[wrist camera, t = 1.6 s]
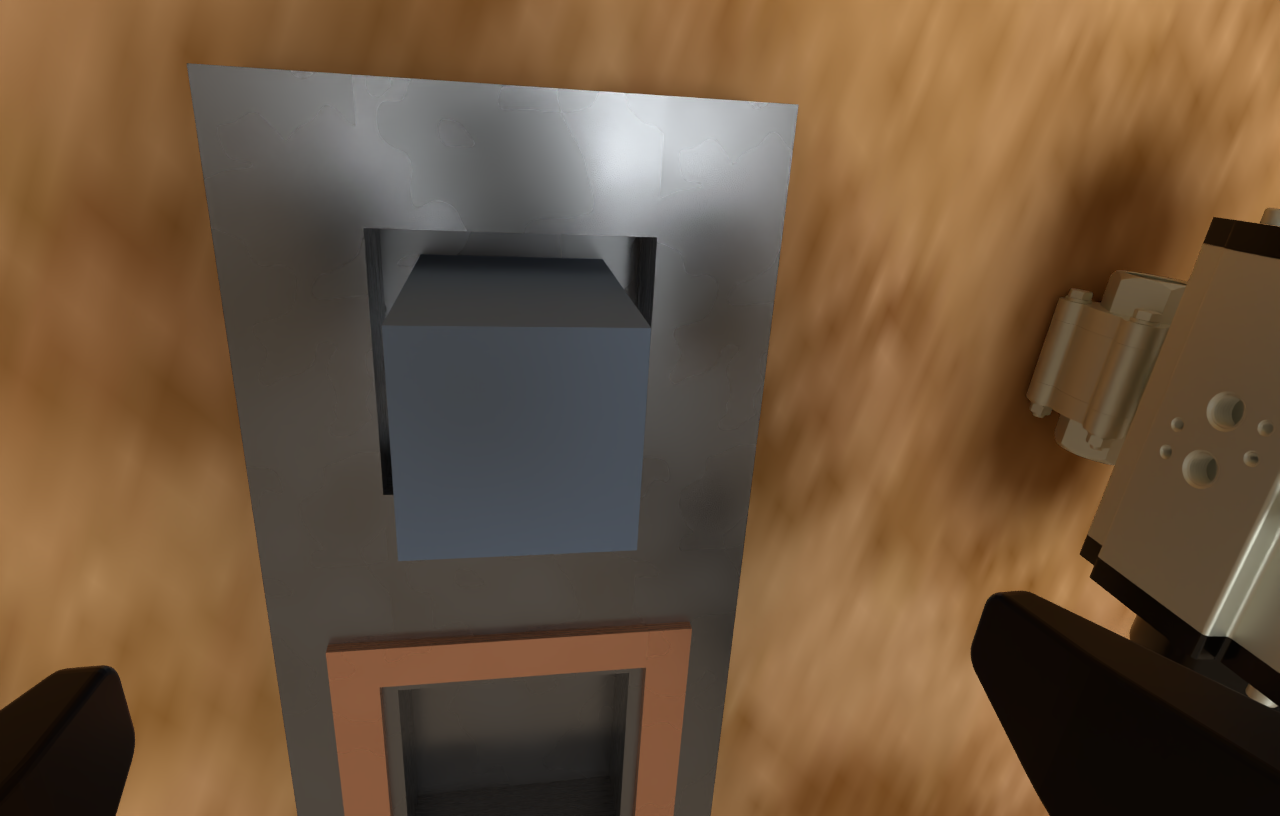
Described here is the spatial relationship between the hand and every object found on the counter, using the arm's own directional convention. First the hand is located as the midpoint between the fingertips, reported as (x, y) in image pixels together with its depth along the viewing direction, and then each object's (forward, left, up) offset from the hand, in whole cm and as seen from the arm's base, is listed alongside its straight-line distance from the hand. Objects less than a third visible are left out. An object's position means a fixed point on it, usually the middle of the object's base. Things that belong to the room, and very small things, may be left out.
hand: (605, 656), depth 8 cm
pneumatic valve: (-1, -16, -13) cm, 21 cm away
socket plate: (-6, +1, -13) cm, 15 cm away
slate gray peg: (0, +1, -12) cm, 12 cm away
